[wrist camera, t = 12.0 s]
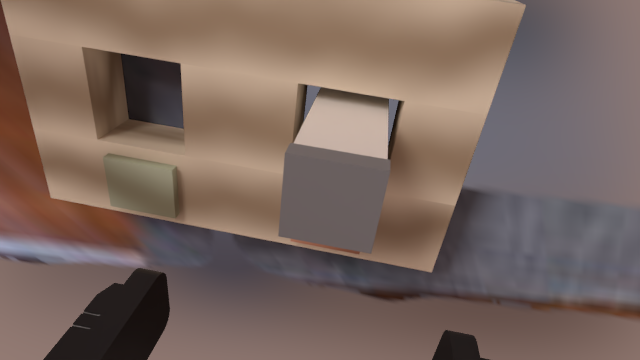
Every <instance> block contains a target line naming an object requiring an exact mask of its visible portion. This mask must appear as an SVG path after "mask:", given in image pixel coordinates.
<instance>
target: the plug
mask: <svg viewBox="0 0 640 360" xmlns="http://www.w3.org/2000/svg"><path fill="white" fill-rule="evenodd" d="M388 112H389V98H383V97H377V96H371V95H365V94H359V93H353V92H347V91H341V90H335V89H330V88H324V87H321V89H320V90H319V92H318V94H317V96H316V99H315V101H314V103H313V105H312V107H311V109H310V111H309V113H308V115H307V117H306V119H305V121H304V123H303V125H302V127H301V129H300V131H299V133H298V135H297V137H296V139H295V141H294V143H290V144H289V146H288V148H287V150H286V152H285V158H284V170H283V183H282V195H281V208H280V220H279V233H278V236H279V237H285V238H290V239H295V240H300V241H306V242H311V243H316V244H322V245H327V246H332V247H338V248H343V249H348V250H353V251H359V252H364V253H369V254H371V253H372V248H373V244H374V240H375V235H376V231H377V227H378V222H379V218H380V214H381V210H382V205H383V201H384V197H385V192H386V188H387V184H388V180H389V175H390V160H388Z"/></svg>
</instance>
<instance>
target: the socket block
mask: <svg viewBox="0 0 640 360" xmlns="http://www.w3.org/2000/svg"><path fill="white" fill-rule="evenodd" d="M1 3H2V7H3V11H4V15H5V19H6V23H7V27H8V31H9V34H10V38H11V42H12V46H13V50H14V54H15V58H16V62H17V66H18V70H19V74H20V78H21V82H22V86H23V90H24V94H25V97H26V101H27V105H28V109H29V113H30V117H31V121H32V125H33V129H34V133H35V137H36V141H37V145H38V149H39V153H40V157H41V160H42V164H43V168H44V172H45V176H46V180H47V184H48V188H49V192H50V196H51V198H55V199H60V200H65V201H70V202H75V203H80V204H85V205H90V206H95V207H101V208H106V209H111V210H116V211H121V212H126V213H131V214H136V215H141V216H146V217H152V218H157V219H162V220H167V221H172V222H177V223H182V224H187V225H192V226H197V227H202V228H208V229H213V230H218V231H223V232H228V233H233V234H238V235H243V236H248V237H253V238H259V239H264V240H269V241H274V242H279V243H284V244H289V245H294V246H299V247H304V248H310V249H315V250H320V251H325V252H330V253H335V254H340V255H345V256H350V257H355V258H361V259H366V260H371V261H376V262H381V263H386V264H391V265H396V266H401V267H406V268H412V269H417V270H422V271H427V272H432V270H433V267H434V265H435V262H436V259H437V256H438V253H439V250H440V248H441V245H442V242H443V239H444V236H445V233H446V231H447V228H448V225H449V222H450V219H451V216H452V214H453V211H454V208H455V205H456V202H457V199H458V197H459V194H460V191H461V188H462V185H463V182H464V179H465V177H466V174H467V171H468V168H469V165H470V163H471V160H472V157H473V154H474V151H475V148H476V146H477V143H478V140H479V137H480V134H481V131H482V129H483V126H484V123H485V120H486V117H487V114H488V112H489V109H490V106H491V103H492V100H493V97H494V95H495V92H496V89H497V86H498V83H499V80H500V78H501V75H502V72H503V69H504V66H505V63H506V61H507V57H508V55H509V52H510V49H511V46H512V44H513V41H514V38H515V35H516V32H517V29H518V27H519V24H520V21H521V18H522V15H523V12H524V9H525V7H526V5H524V4H522V3H519V2H517V1H515V0H1ZM121 53H122V54H128V55H134V56H140V57H146V58H152V59H158V60H164V61H170V62H176V63H181V81H182V101H183V121H184V129H182V128H176V127H171V126H165V125H160V124H154V123H148V122H143V121H137V120H132V119H129V116H128V108H127V100H126V92H125V84H124V76H123V68H122V60H121ZM307 85H312V86H318V87H324V88H330V89H335V90H341V91H347V92H353V93H359V94H365V95H371V96H377V97H383V98H389V99H395V100H399V102H398V106H397V110H396V115H395V119H394V123H393V128H392V132H391V136H390V141H389V145H388V160H390V175H389V180H388V184H387V188H386V192H385V197H384V201H383V205H382V210H381V214H380V218H379V222H378V227H377V231H376V235H375V240H374V244H373V248H372V253H371V254H369V253H364V252H359V251H353V250H348V249H343V248H338V247H332V246H327V245H322V244H316V243H311V242H306V241H300V240H295V239H290V238H285V237H279V236H278V233H279V220H280V208H281V195H282V183H283V170H284V158H285V152H286V150H287V148H288V146H289V144H290V143H294V141H295V139H296V137H297V135H298V133H299V131H300V129H301V127H302V125H303V121H304V112H305V102H306V94H307Z"/></svg>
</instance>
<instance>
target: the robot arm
mask: <svg viewBox="0 0 640 360" xmlns="http://www.w3.org/2000/svg"><path fill="white" fill-rule="evenodd" d="M169 312H170V307H169V297H168V286H167V277H166V274H165V273H161V272H157V271H152V270H147V269H142V268H138V269H136V270H135V271H134V272H133V273H132V275H131V276H130V277H129V278H128V280H127V281H126V282H125V284H124V285H123V284H118V283H114V284H112V285H111V286H109V287H108V288H106V289H105V290H103V291H102V292H100V293H99V294H97V295H96V297H95V298H94V299H93V300H92V301H91V303H90V304H89V305H88V306H87V307H86V309H85V310H84V313H83V314H81V315H80V316H79V317H78V318H77V319H76V321H75V322H74V323H73V326H72V327H70V328H69V329H68V330H67V332H66V333H65V334H64V335H63V336H62V338H61V339H60V340H59V341H58V343H57V344H56V345H55V346H54V347H53V349H52V350H51V351H50V352H49V353H48V355H47V356H46V357H45V358H44V360H147V359H148V357H149V355H150V354H151V352H152V350H153V348H154V347H155V345H156V343H157V341H158V340H159V338H160V336H161V335H162V333H163V331H164V329H165V327H166V324H167V321H168V317H169ZM432 360H489V359H484V358H480V355H479V351H478V345H477V341H476V339H475V337H474V336H473V335H468V334H463V333H458V332H453V331H448V330H446V331H445V332H444V333H443V335H442V337H441V340H440V342H439V345H438V347H437V349H436V352H435V354H434V356H433V359H432Z"/></svg>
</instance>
